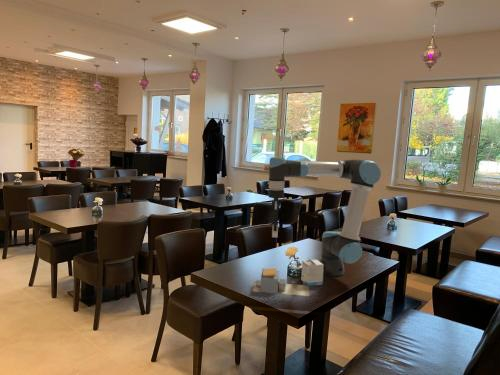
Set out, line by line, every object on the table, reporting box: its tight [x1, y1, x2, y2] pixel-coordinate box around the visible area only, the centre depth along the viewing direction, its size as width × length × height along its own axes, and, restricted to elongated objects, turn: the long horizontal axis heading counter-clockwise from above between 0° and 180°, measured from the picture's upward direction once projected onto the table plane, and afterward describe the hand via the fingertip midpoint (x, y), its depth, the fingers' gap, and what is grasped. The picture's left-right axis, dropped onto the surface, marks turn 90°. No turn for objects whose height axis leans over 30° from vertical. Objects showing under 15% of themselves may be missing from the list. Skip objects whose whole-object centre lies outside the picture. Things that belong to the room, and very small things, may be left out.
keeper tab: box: [260, 267, 277, 278], centre depth 180 cm, size 7×10×1 cm
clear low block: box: [255, 278, 287, 291], centre depth 180 cm, size 14×6×4 cm, turn 84°
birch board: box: [251, 280, 311, 297], centre depth 180 cm, size 27×13×1 cm, turn 84°
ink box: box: [300, 257, 324, 287], centre depth 190 cm, size 9×8×13 cm
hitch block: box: [259, 270, 280, 294], centre depth 180 cm, size 8×12×6 cm, turn 174°
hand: (274, 236), depth 183 cm, fingers closed
